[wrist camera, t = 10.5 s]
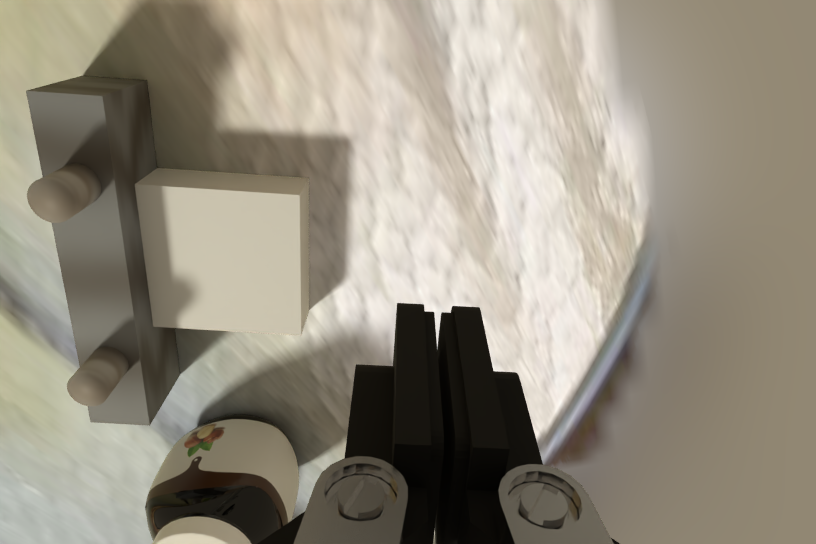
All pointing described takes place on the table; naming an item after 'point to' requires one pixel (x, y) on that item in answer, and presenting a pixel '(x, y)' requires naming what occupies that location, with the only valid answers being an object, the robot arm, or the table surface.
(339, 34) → the table surface
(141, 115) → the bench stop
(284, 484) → the spread jar
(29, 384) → the table surface
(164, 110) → the table surface
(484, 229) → the table surface
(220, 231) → the beige flat square block
